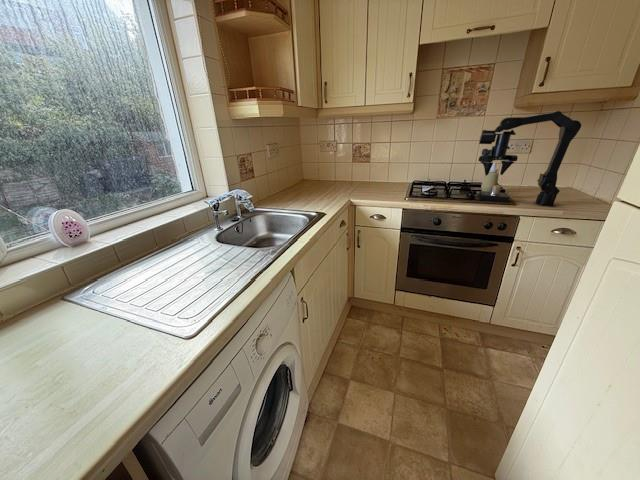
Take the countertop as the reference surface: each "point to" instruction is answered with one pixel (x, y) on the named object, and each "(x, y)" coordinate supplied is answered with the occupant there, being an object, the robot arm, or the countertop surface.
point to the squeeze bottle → (490, 179)
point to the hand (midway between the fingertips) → (493, 175)
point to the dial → (495, 189)
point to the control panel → (494, 197)
